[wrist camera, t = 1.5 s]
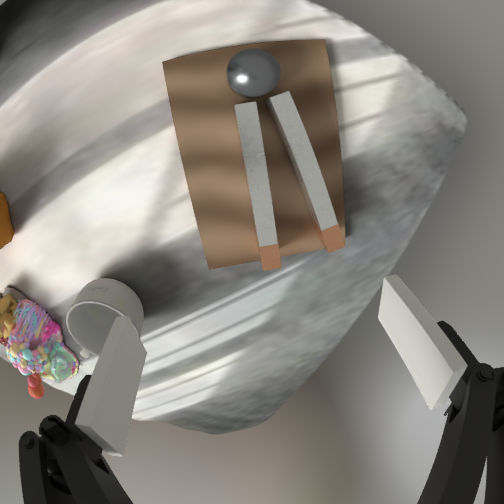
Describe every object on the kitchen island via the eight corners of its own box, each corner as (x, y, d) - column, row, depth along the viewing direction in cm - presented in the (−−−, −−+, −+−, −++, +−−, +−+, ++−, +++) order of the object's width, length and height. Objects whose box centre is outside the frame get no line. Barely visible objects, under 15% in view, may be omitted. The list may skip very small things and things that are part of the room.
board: (165, 63, 26) (162, 61, 24) (320, 42, 26) (324, 39, 24) (209, 263, 38) (209, 269, 37) (341, 239, 38) (345, 244, 36)
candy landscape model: (-20, 315, 40) (-39, 340, 32) (9, 264, 35) (-20, 293, 27) (54, 385, 51) (42, 414, 42) (103, 358, 46) (89, 396, 38)
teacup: (113, 255, 36) (92, 287, 29) (165, 307, 41) (155, 345, 34) (65, 300, 39) (45, 331, 32) (111, 341, 44) (98, 376, 36)
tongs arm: (264, 100, 27) (269, 98, 24) (281, 93, 27) (289, 90, 24) (318, 238, 36) (328, 253, 32) (333, 232, 35) (345, 246, 32)
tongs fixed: (223, 60, 25) (222, 52, 21) (270, 54, 25) (276, 45, 21) (258, 253, 36) (261, 271, 32) (297, 246, 36) (305, 263, 32)
